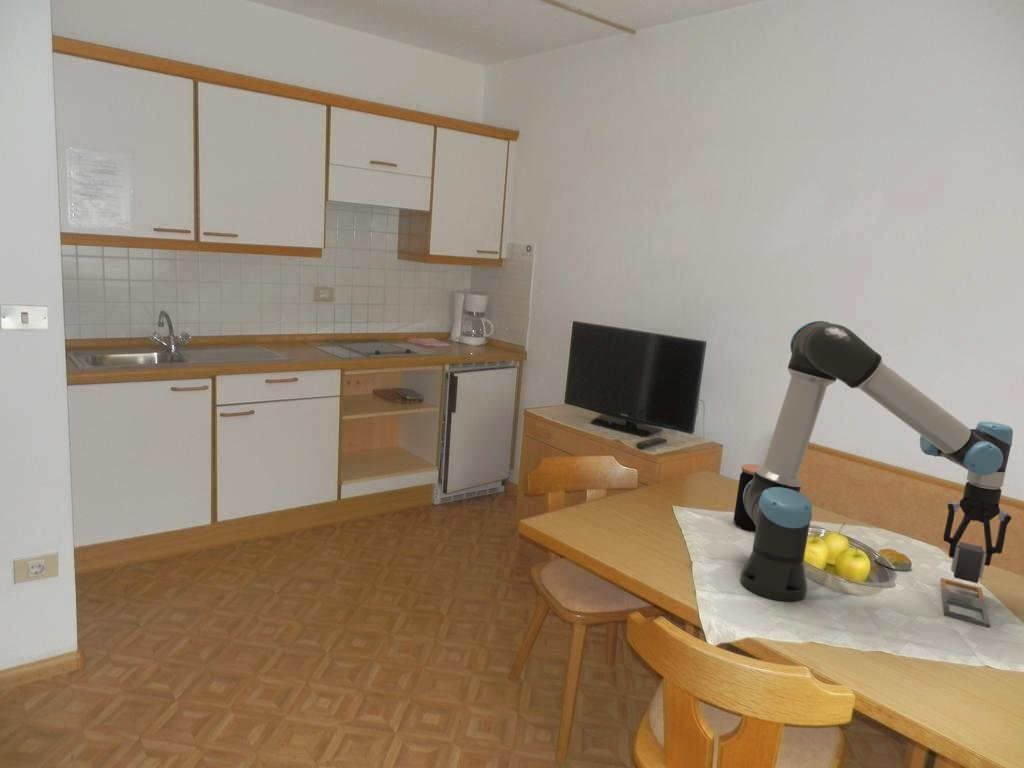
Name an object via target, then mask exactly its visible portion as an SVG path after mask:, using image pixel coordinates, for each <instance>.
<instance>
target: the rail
mask: <svg viewBox="0 0 1024 768" xmlns="http://www.w3.org/2000/svg"><path fill="white" fill-rule="evenodd" d="M947 585H950V586H953V587H958V588H962V589H965V590H968V591H969V590H970V591H973V592H976V594H977V597H975V596H971V595H968V594H967V595H966V594H963V593H960V592H955V591H952V590H947ZM940 591H941V599H942V609H943V615H944V616H945V617H949V618H952V619H956V620H960V621H964V622H967V623H972V624H975V625H979V626H982V627H986V628H991V621H990V615H989V614H988V613H989V612H988V609H987V606H986V601H985V597H984V594H983V593H984V592H983V589H982V587H979V586H975V585H972V584H968V583H964V582H960V581H956V580H952V579H948V578H944V577H940ZM950 605H953V606H956V607H960V608H964V609H968V610H972V611H975V612H980V613H981V616H982V619H981V618H976V617H972V616H970V615H967V614H966V615H965V614H962V613H957V612H955V611H951V610H950Z"/></svg>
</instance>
